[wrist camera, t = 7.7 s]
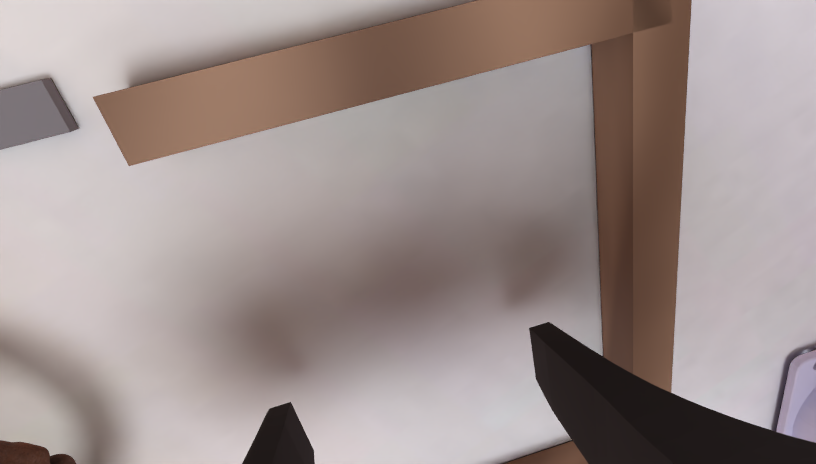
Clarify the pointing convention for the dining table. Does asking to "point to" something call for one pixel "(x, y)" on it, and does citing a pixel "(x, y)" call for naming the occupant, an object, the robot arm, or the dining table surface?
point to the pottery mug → (29, 454)
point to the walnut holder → (465, 56)
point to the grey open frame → (32, 113)
